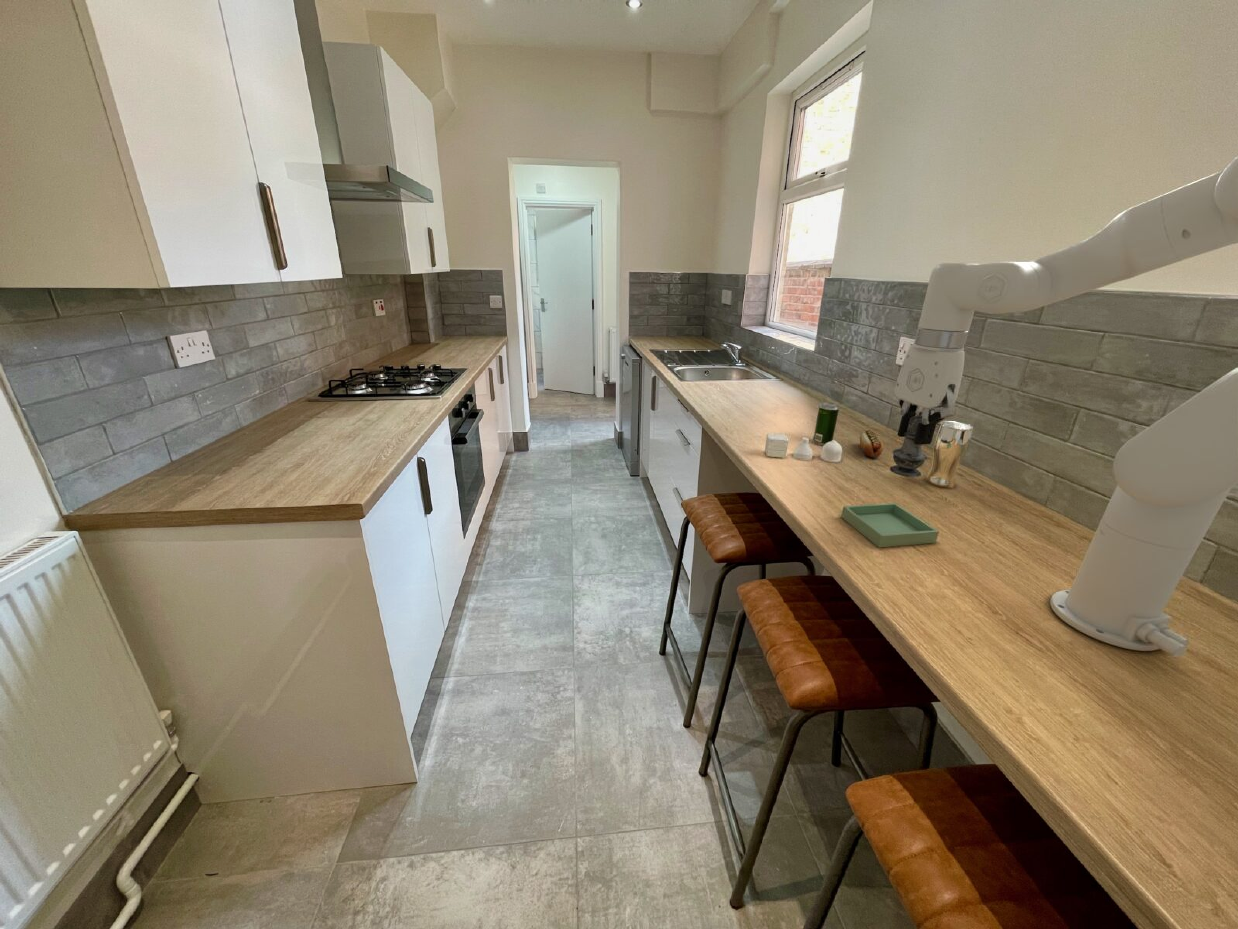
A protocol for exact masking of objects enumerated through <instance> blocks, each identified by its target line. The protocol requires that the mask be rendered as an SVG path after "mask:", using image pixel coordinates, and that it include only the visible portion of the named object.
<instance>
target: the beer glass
mask: <svg viewBox="0 0 1238 929" xmlns="http://www.w3.org/2000/svg"><path fill="white" fill-rule="evenodd" d="M973 430H974V426H973V425H970V424H969V423H965V422H961V421H955V420H942V421H941V422H940V423H939V426H938V429H937V431H936V434H935V437H934V441H933V445H932V446H933V447H932V455H931V456H932V457H931V464H930V465H931V466H930V469H929V472H928V473H927V475H926V477H925V482H926V483H928V484H929V485H931V486H934V487H937V488H941V489H942V488H943V489H944V488H945V489H951V488H954V486H955V483H956V475H957V471H958V470H959V467H960V465H961V464H962V462H963V460H964V458H965V456H966V454H967V452H968V449H969V446H970V443H971V440H972V436H973Z"/></svg>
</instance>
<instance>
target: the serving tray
mask: <svg viewBox="0 0 1238 929" xmlns="http://www.w3.org/2000/svg"><path fill="white" fill-rule="evenodd" d="M840 517H841V518H842V519H843V520H844V521H845V522H847V523H848V524H849V525H851V526H852V527H853V528H854V529H856V530H857V531H858V532H859V533H860V534H861V535H863V537H865V538H867V539H868V540H869V541H870V542H872V543H873V544H874V545H875V546H876V547H878V548H887V547H900V546H911V545H922V544H923V545H924V544H935V543H937V540H938V538H939V537H938V536H939V533H940V531H939V530H937V529H936V528H934V527H933V526H931V525H930V524H928V523H927V522H925V521H924V520H922V519H921V518H919V517H918V516H916V515H914V514H913V513H912V512H910V511H908V510H907V509H906V508H904V507H903V506H901V505H900V504H898V503H896V502H888V503H887V502H886V503H877V504H876V503H874V504H873V503H872V504H859V505H844V506H842V511H841V516H840Z"/></svg>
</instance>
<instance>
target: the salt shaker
mask: <svg viewBox="0 0 1238 929" xmlns="http://www.w3.org/2000/svg"><path fill="white" fill-rule="evenodd" d="M922 418H923V411H918V413H917V415H916V416H914V417H912V418H911V419H910V421H909V425H908V429H907V432H905V433H904V435H905V437H904V439H903V443H902V445H901V447H900V448H895V449H893V450H892V452H891V453H892V458H893V462H894V464H895V465H892V466H890V467H889V471H890V472H892V473H893V474H895V475H898V476H901V477H906V478H918V477H921V476H922V472H920V471H919V469H918V468H921V467H922V466H923V465H924V463H925V461H927V460H928V456H927V455H926V454H925V453H923V452H922V446H923V445H916V444H914V438H915V435H916V431H917V427H918V424H919V423H922Z"/></svg>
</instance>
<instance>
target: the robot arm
mask: <svg viewBox="0 0 1238 929" xmlns="http://www.w3.org/2000/svg"><path fill="white" fill-rule="evenodd" d="M1235 244H1238V156H1237V157H1235V158H1234V159H1233V160H1232V161H1231V162H1230V163H1229V164H1228V165H1227V166H1226V167H1225V168H1224V169H1222V170H1220V171H1217V172H1215V173H1212V174H1210V175H1207V176H1206V177H1203V178H1200V179H1198V180H1195V181H1193V182H1191V183H1188V184H1185V185H1183V186H1181V187H1179V188H1176V189H1174V190H1170V191H1168V192H1167V193H1164V194H1161V195H1159V196H1156V197H1153V198H1151V199H1149V200H1146V201H1143V202H1141V203H1138V204H1136V205H1133V206H1131V207H1129V208H1127V209H1126V210H1123V211H1122V212H1121V213H1119V214H1118V215H1116V216H1115V217H1114V218H1113V219H1111V221H1109V223H1107V225H1106V226H1105V227H1104V228H1102V229H1101V230H1099V231H1098V232H1096V233H1095V234H1092V235H1091V236H1089V237H1088V238H1085V239H1084V240H1081V241H1079V242H1077V243H1075V244H1073V245H1070V246H1067V247H1065V248H1063V249H1060V250H1058V251H1055V252H1053V253H1050V254H1047V255H1045V256H1042V257H1040V258H1036V259H1034V260H1031V261H998V262H997V261H996V262H990V263H989V262H988V263H982V264H981V263H976V262H942V263H938V264H936V265H935V266H934V267H933V269H932V271H931V273H930V276H929V280H928V284H927V288H926V292H925V297H924V300H923V305H922V309H921V313H920V317H919V321H918V325H917V330H916V332H915V337H914V342H913V344H910V346H909V348H908V350H907V352H906V354H905V356H904V359H903V361H902V364H901V366H900V370H899V372H898V376H897V380H896V383H895V387H894V397H895V398H896V400H897V401H898V404H899V407H900V411H899V413H900V415H901V419H900V422H899V426H898V430H897V436H898V437H899V438H905V435H904V433H905V432H907V429H908V425H909V421H910V419H911V418H912V417H914V416H917V415H918V413H919V411H920V408H922V409H923V410H922V416H923V418H922V423H919V424H918V427H917V431H916V435H915V438H914V444H916V445H922V446H923V445H931V444H932V441H933V439H934V438H933V437H934V434H935V430H936V427H937V425H940V423H941V422H942V421H944V420H945V419H947V418H950V417H954V416H955V415H956V414H957V410H956V405H955V403H956V401H957V399H958V395H959V391H960V388H961V384H962V379H963V373H964V367H965V359H966V358H965V357H966V356H965V355H966V351H964V350H965V347H966V343H967V339H968V336H969V331H970V328H971V326H972V321H973V318H974V315H975V312H979V313H983V314H989V315H1003V314H1013V313H1025V312H1028V311H1032V310H1037V309H1039V308H1042V307H1046V306H1049V305H1052V304H1055V303H1058V302H1061V301H1065V300H1068V299H1071V298H1073V297H1077V296H1079V295H1080V296H1081V295H1083V294H1085V293H1089V292H1092V291H1095V290H1098V289H1100V288H1103V287H1106V286H1109V285H1112V284H1115V283H1118V282H1122V281H1127V280H1130V279H1132V278H1135V277H1138V276H1140V275H1143V274H1145V273H1149V272H1152V271H1155V270H1158V269H1161V268H1163V267H1167V266H1170V265H1173V264H1176V263H1180V262H1183V261H1184V260H1187V259H1190V258H1195V257H1197V256H1200V255H1203V254H1206V253H1209V252H1212V251H1213V252H1214V251H1215V250H1216V251H1217V250H1219V249H1222V248H1225V247H1228V246H1231V245H1235ZM932 411H933V413H932ZM1112 474H1113V477H1114V479H1115V482H1116V484H1117V486H1116V487H1115V489H1114V491H1113V493H1112V495H1111V497H1110V499H1109V502H1108V504H1107V506H1106V508H1105V510H1104V512H1103V515H1102V517H1101V518H1100V521H1099V524H1098V526H1097V529H1096V531H1095V533H1094V534H1093V537H1092V539H1091V542H1090V544H1089V546H1088V548H1087V550H1086V553H1085V555H1084V557H1083V560H1082V562H1081V564H1080V566H1079V569H1078V570H1077V573H1076V576H1075V578H1074V579H1073V582H1072V584H1071V586H1070V589H1064V590H1063V589H1062V590H1059V591H1056V592H1054V593H1053V594H1052V595H1051V597H1050V600H1049V605H1050V607H1051V610H1052V611H1053V612H1054V613H1055V615H1057V616H1058V618H1059V619H1061V620H1062V621H1063V622H1064V623H1066V624H1067V625H1069V626H1070V627H1072V628H1074V629H1075V630H1077V631H1078V632H1080V633H1083V634H1084V635H1087V636H1088V637H1091V638H1093V639H1095V640H1097V641H1100V642H1103V643H1106V644H1109V645H1112V646H1115V647H1118V648H1122V649H1127V650H1133V651H1138V652H1139V651H1140V652H1152V651H1158V650H1162V651H1163V652H1164V653H1166V654H1168V655H1169V656H1171V657H1173V658H1175V659H1178V658H1181V657H1182V656H1184V655H1185V654H1186V653H1187V650H1188V647H1187V646H1188V645H1189V642H1190V640H1189V639H1188V638H1186V637H1185V636H1182V635H1180V634H1179V633H1176V632H1175V631H1173V630H1171V629H1170V627H1169V626H1168V625H1169V623H1170V621H1171V620H1172V616H1170V615H1168V614H1167V613H1165V612H1164V611H1165V609H1166V607H1167V605H1168V604H1169V601H1170V599H1171V597H1172V596H1173V594H1174V593H1175V590H1176V588H1177V587H1178V585H1179V583H1180V581H1181V579H1182V577H1183V575H1184V574H1185V572H1186V570H1187V568H1188V566H1189V565H1190V563H1191V561H1192V559H1193V557H1194V556H1195V553H1196V552H1197V549H1198V548H1199V547H1200V546H1201V543H1202V541H1203V539H1204V537H1205V536H1206V534H1207V532H1208V530H1209V529H1210V527H1211V525H1212V523H1213V521H1214V519H1215V518H1216V516H1217V515H1218V512H1219V511H1220V509H1221V507H1222V505H1223V503H1224V502H1225V500H1226V499H1227V497H1228V496H1229V493H1230V492H1231V490H1232V488H1234V487H1236V486H1238V366H1237V367H1235V368H1234V369H1232V370H1230V371H1228V372H1227V373H1226V374H1224V375H1223V376H1222V377H1220V378H1219V379H1217V380H1216V381H1214V382H1213V383H1211V384H1210V385H1208V386H1206V387H1205V388H1203V390H1201V391H1199V392H1198V393H1197V394H1195V395H1193V396H1192V397H1191V398H1188V400H1186V401H1184V402H1183V403H1182V404H1180V405H1179V406H1177V407H1175V408H1174V409H1173V410H1171V411H1170V412H1168V413H1167V414H1166V415H1163V417H1161V418H1160V419H1158V420H1156V421H1155V422H1154V423H1152V424H1151V425H1150V426H1148V427H1147V428H1145V429H1143V430H1141V431H1140V432H1139V433H1137V434H1136V435H1134V436H1133V437H1131V438H1130V439H1129V440H1127V441H1126V442H1125V443H1123V445H1122V446H1121V447H1120V448H1118V451H1117V452H1116V454H1115V456H1114V458H1113V463H1112Z"/></svg>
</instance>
